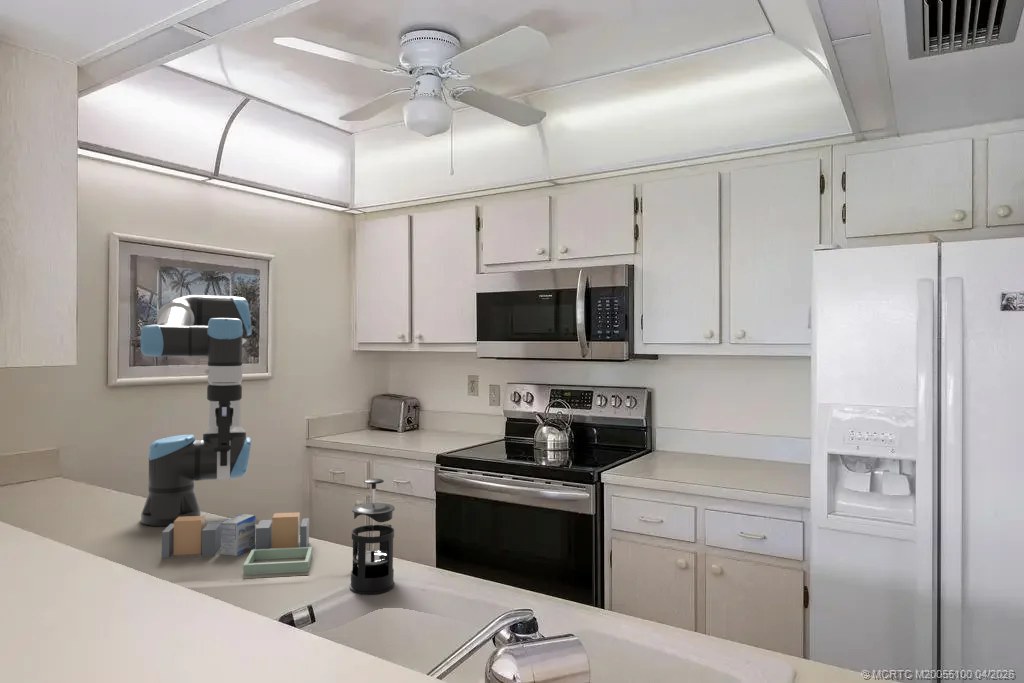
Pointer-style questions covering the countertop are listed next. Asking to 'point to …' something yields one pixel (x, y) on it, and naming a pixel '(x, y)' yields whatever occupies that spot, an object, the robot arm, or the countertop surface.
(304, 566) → the tray
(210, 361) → the robot arm
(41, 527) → the countertop surface
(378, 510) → the french press
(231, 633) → the countertop surface
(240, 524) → the medicine box
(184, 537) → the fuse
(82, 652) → the countertop surface
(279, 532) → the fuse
